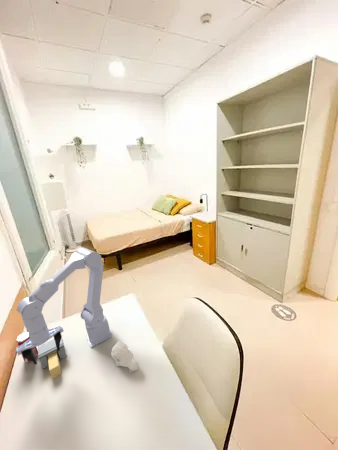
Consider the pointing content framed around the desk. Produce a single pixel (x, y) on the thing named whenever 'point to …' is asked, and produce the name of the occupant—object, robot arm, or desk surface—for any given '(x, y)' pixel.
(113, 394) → the desk surface
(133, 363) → the penguin figurine
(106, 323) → the robot arm
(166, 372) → the desk surface
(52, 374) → the stepped yellow block
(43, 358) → the dispenser
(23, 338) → the soda can
